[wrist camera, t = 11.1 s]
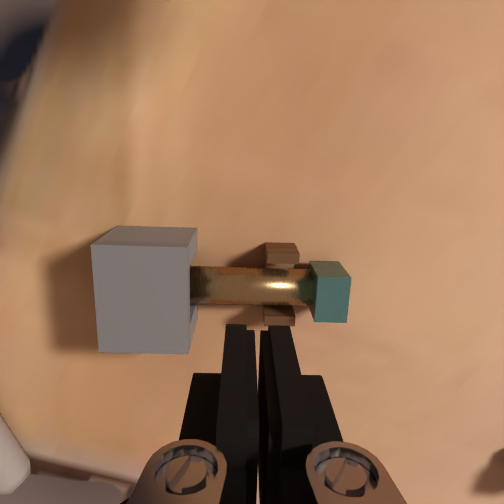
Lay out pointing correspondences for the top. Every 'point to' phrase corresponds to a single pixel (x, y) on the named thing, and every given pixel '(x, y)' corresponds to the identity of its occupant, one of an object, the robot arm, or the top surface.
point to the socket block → (144, 289)
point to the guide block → (280, 258)
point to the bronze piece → (277, 287)
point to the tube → (11, 460)
